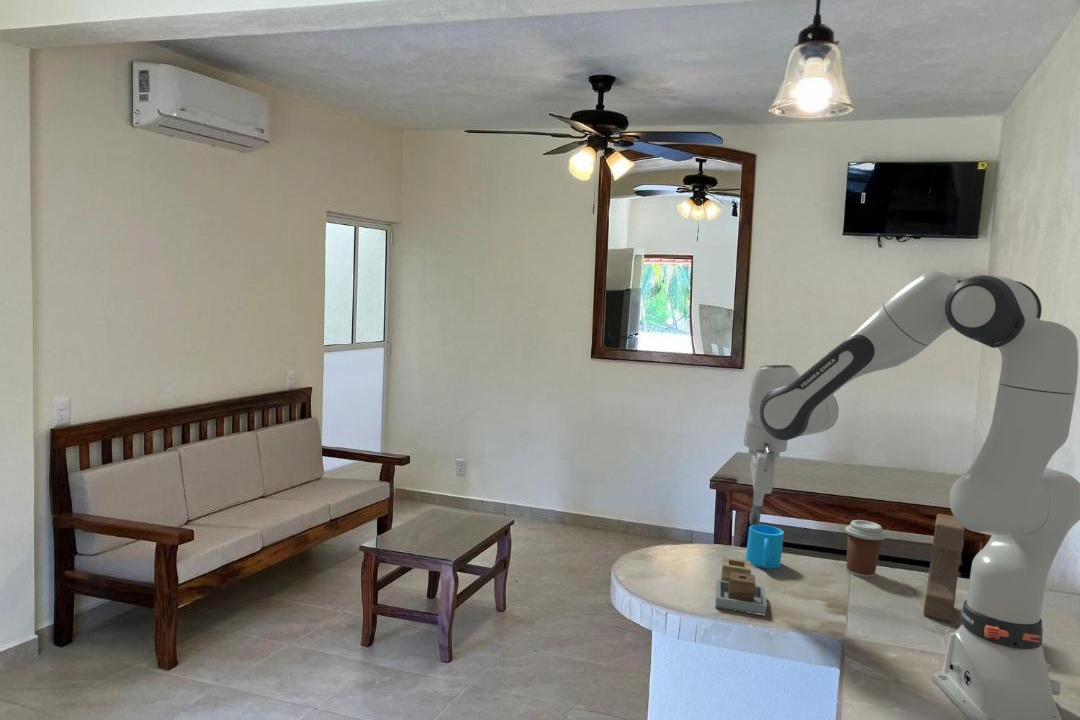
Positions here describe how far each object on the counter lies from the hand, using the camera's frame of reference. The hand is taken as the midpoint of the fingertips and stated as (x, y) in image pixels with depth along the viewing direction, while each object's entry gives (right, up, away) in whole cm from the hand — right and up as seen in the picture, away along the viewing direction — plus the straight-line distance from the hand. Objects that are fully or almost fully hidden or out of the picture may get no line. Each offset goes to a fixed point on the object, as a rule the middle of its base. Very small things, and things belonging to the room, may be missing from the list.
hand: (757, 502), depth 175 cm
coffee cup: (+31, -21, +23) cm, 44 cm away
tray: (-4, -21, -3) cm, 21 cm away
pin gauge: (-1, -5, +1) cm, 5 cm away
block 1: (-3, -20, +7) cm, 21 cm away
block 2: (-4, -20, -3) cm, 21 cm away
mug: (+7, -19, +23) cm, 31 cm away
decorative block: (+39, -24, +2) cm, 46 cm away
